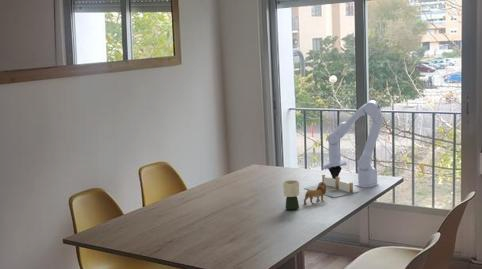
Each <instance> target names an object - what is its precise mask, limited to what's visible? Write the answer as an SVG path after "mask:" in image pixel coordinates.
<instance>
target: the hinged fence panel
mask: <svg viewBox="0 0 482 269" xmlns="http://www.w3.org/2000/svg"><path fill="white" fill-rule="evenodd" d="M321 179H322V180H321V182H324V183H325V184H326V185H329V186H332V187H336V179H333V178H332V177H329V176H326V174H322V175H321Z"/></svg>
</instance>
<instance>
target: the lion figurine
mask: <svg viewBox="0 0 482 269" xmlns="http://www.w3.org/2000/svg"><path fill="white" fill-rule="evenodd" d="M317 185H318V188H317V189H315V190H307V191H306V192H305V195H304V199H303V205H304V206H306V205H307V200H308V199H309V202H310V204H311V205H315V204H316V203H315V202H313V199H314V198H316V201H317V202H320V201H321V202H322V203H324V202H325V200H324V196H325V195H324V194H325V193H326V184H325V183H324V182H322V181H320V182H318V184H317Z"/></svg>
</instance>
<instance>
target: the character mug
mask: <svg viewBox="0 0 482 269" xmlns="http://www.w3.org/2000/svg"><path fill="white" fill-rule="evenodd" d="M282 183H283V195H284V196H285V197H286V199H285V210H290V211H291V210H293V211H295V210H299V208H300V206H299V205H300V204H299V200H298V196H299V195H300V182H299V180H297V179H291V180H290V179H289V180H285V181H283V182H282Z"/></svg>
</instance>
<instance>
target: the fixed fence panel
mask: <svg viewBox="0 0 482 269" xmlns="http://www.w3.org/2000/svg"><path fill="white" fill-rule="evenodd" d="M336 189H340V190H344V191H347V192H350V193H353V190H354V183H353V182H347V181H344V180H341V178H340V176H338V177H336Z"/></svg>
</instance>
